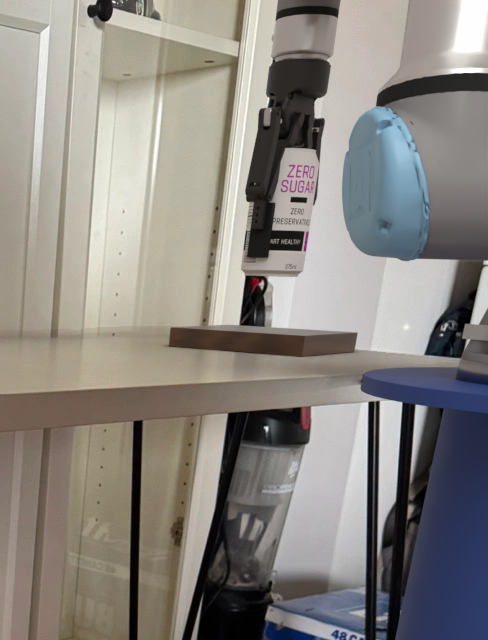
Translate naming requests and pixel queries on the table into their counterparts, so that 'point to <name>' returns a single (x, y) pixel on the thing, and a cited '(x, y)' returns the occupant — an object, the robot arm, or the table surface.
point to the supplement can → (287, 217)
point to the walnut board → (263, 339)
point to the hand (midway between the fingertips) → (273, 258)
